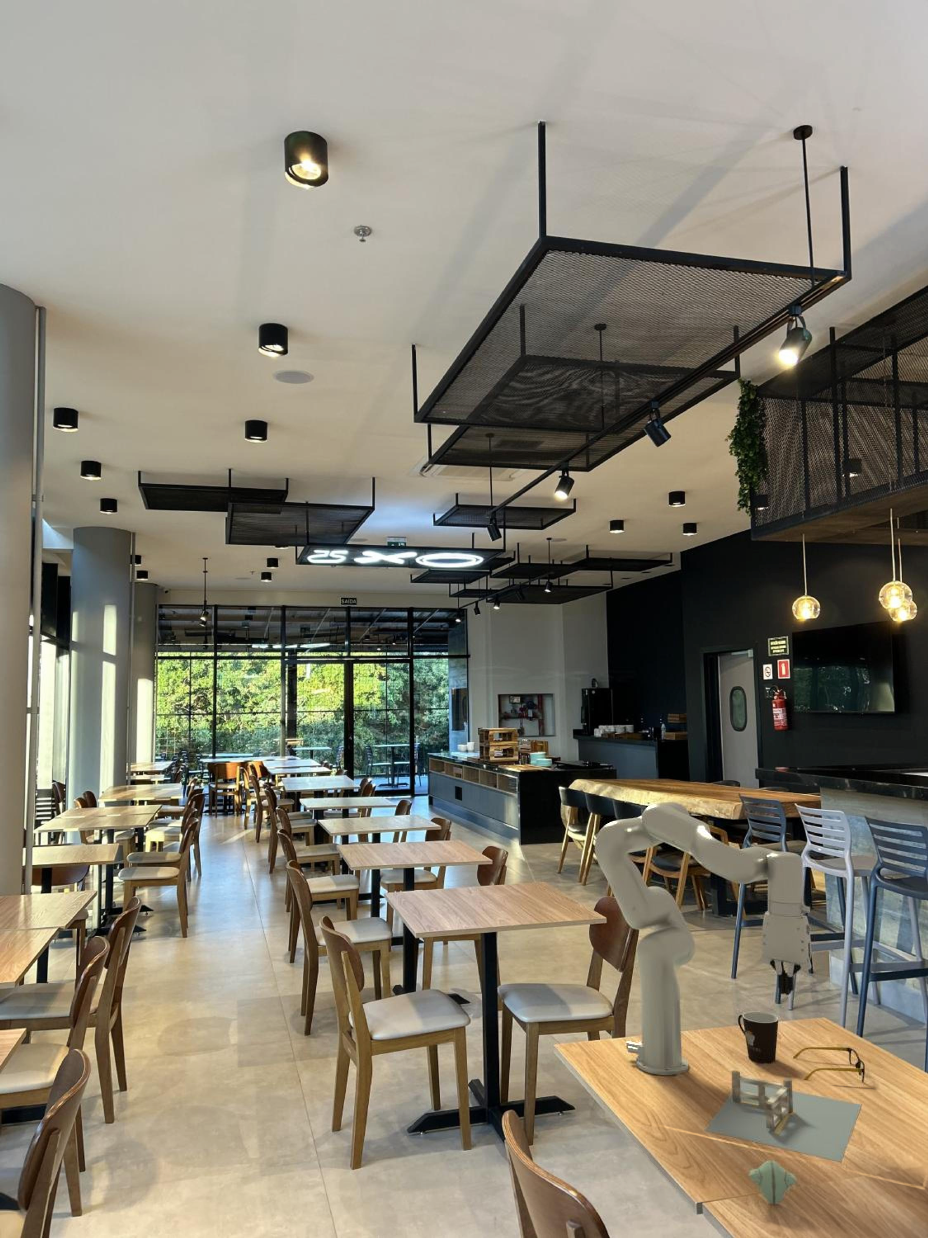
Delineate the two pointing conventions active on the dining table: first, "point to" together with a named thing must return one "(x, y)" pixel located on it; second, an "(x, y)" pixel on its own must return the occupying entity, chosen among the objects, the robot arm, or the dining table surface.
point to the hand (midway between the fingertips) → (786, 993)
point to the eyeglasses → (857, 1069)
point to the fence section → (761, 1089)
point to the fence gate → (777, 1107)
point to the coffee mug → (760, 1036)
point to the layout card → (791, 1123)
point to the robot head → (772, 1181)
